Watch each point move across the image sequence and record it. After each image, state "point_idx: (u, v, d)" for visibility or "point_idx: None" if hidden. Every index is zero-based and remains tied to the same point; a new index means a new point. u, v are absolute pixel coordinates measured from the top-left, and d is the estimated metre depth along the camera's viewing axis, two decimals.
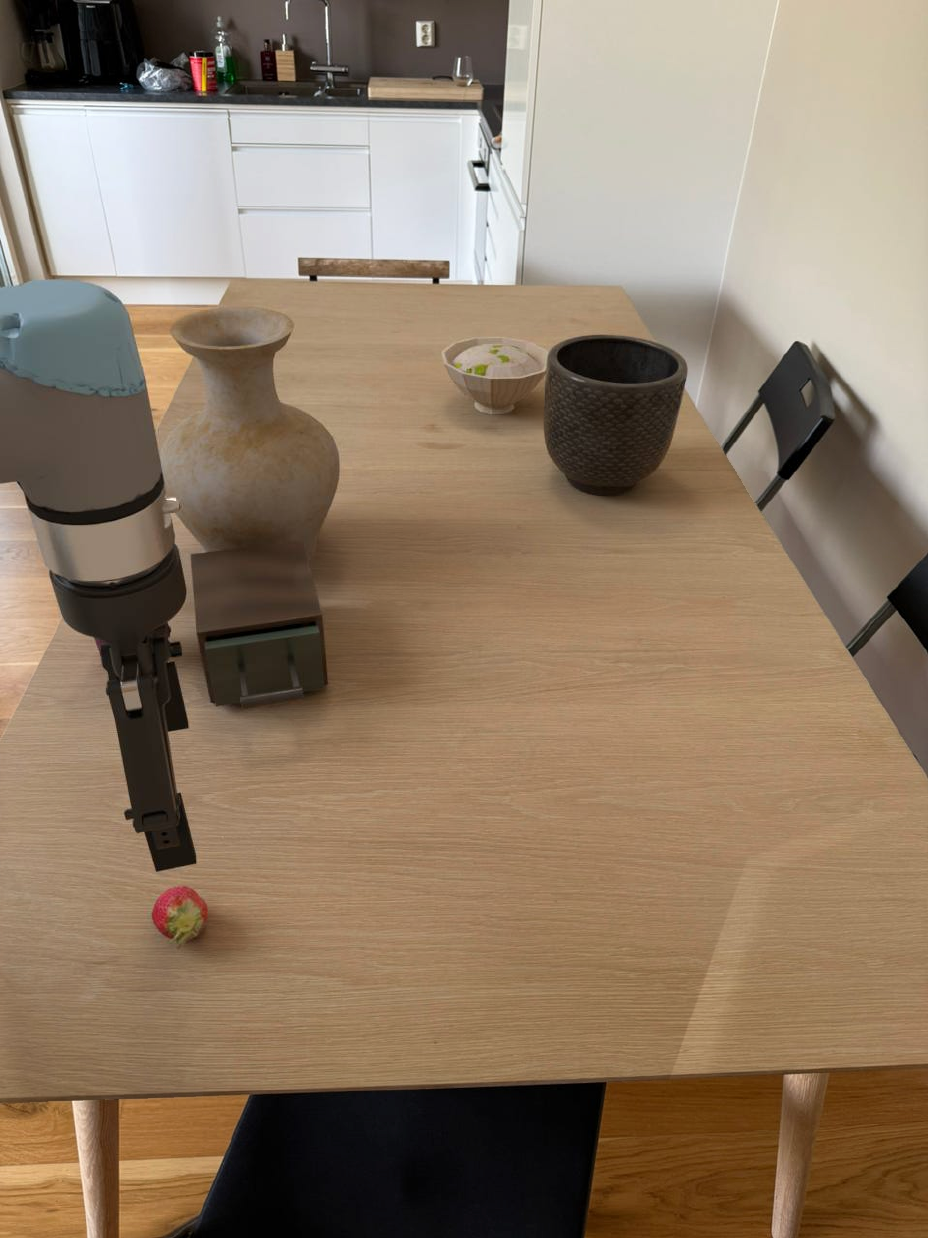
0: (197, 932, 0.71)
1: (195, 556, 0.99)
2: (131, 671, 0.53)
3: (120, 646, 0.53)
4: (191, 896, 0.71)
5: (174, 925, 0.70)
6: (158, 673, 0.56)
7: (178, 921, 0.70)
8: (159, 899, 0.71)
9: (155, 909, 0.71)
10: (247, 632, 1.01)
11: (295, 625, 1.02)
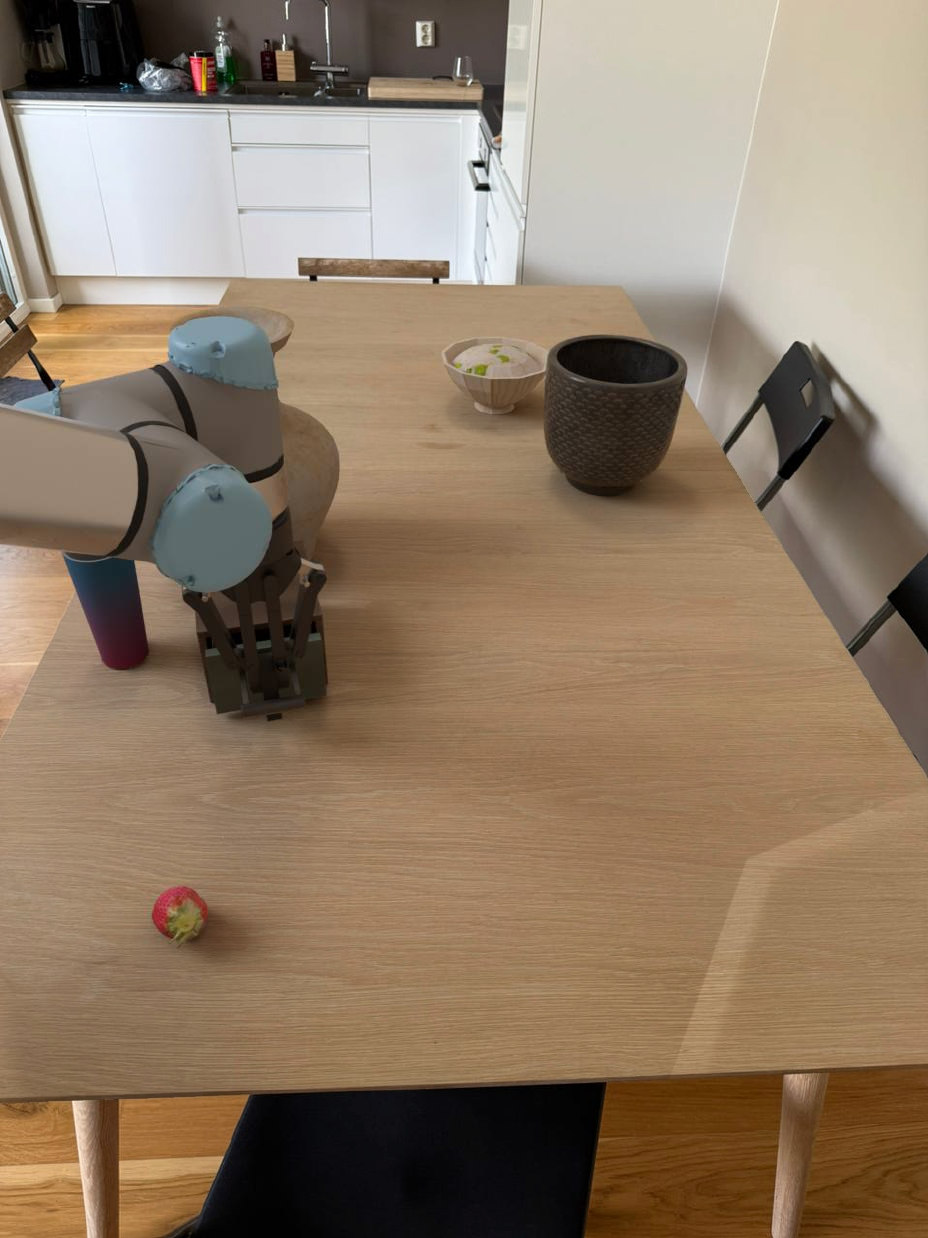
0: (197, 932, 0.71)
1: None
2: (310, 563, 0.80)
3: (294, 546, 0.78)
4: (191, 896, 0.71)
5: (173, 925, 0.70)
6: None
7: (178, 921, 0.70)
8: (159, 899, 0.71)
9: (155, 909, 0.71)
10: None
11: None
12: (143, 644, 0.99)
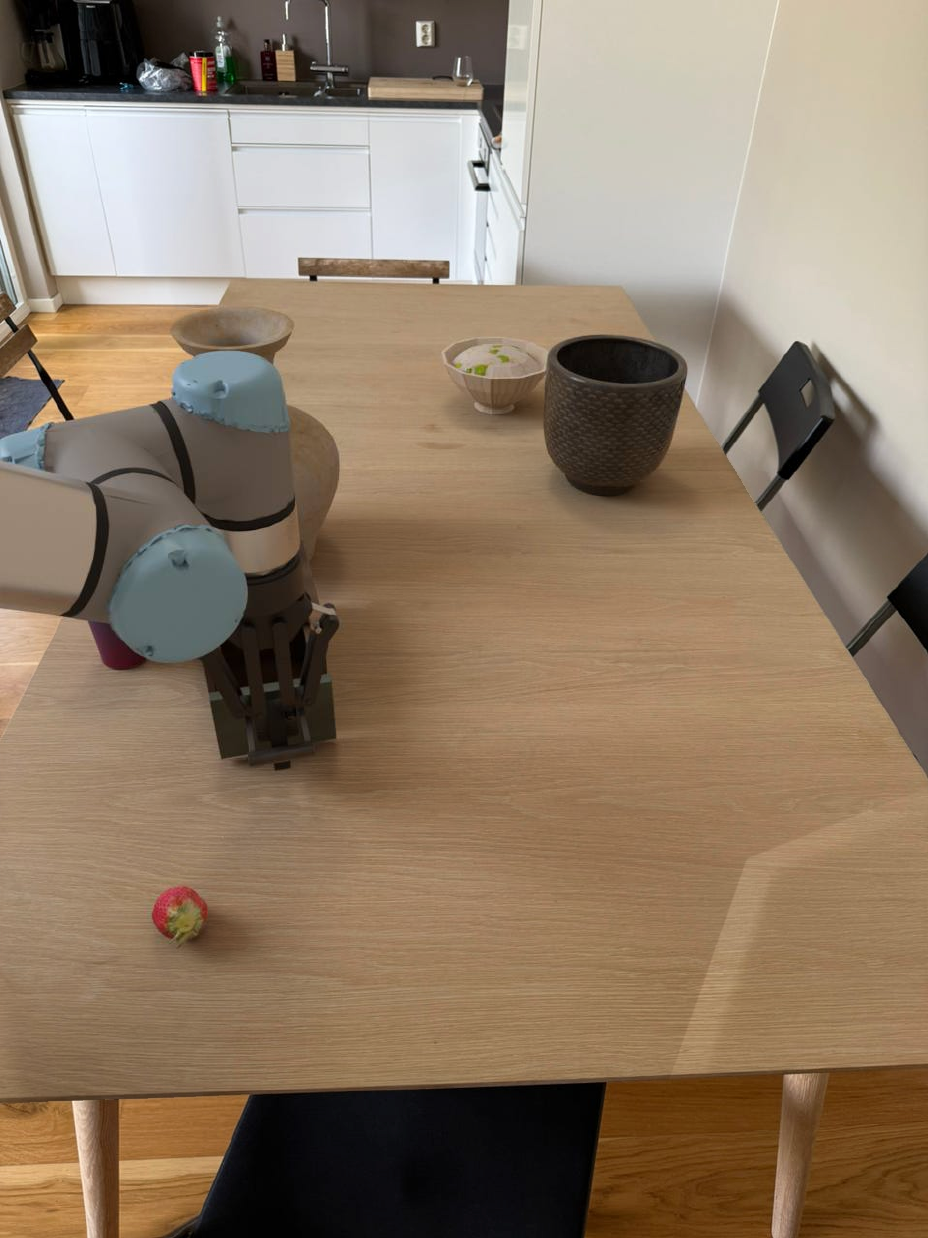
0: (197, 932, 0.71)
1: None
2: (322, 608, 0.76)
3: None
4: (191, 896, 0.71)
5: (174, 925, 0.70)
6: None
7: (178, 921, 0.70)
8: (159, 899, 0.71)
9: (155, 909, 0.71)
10: None
11: None
12: None
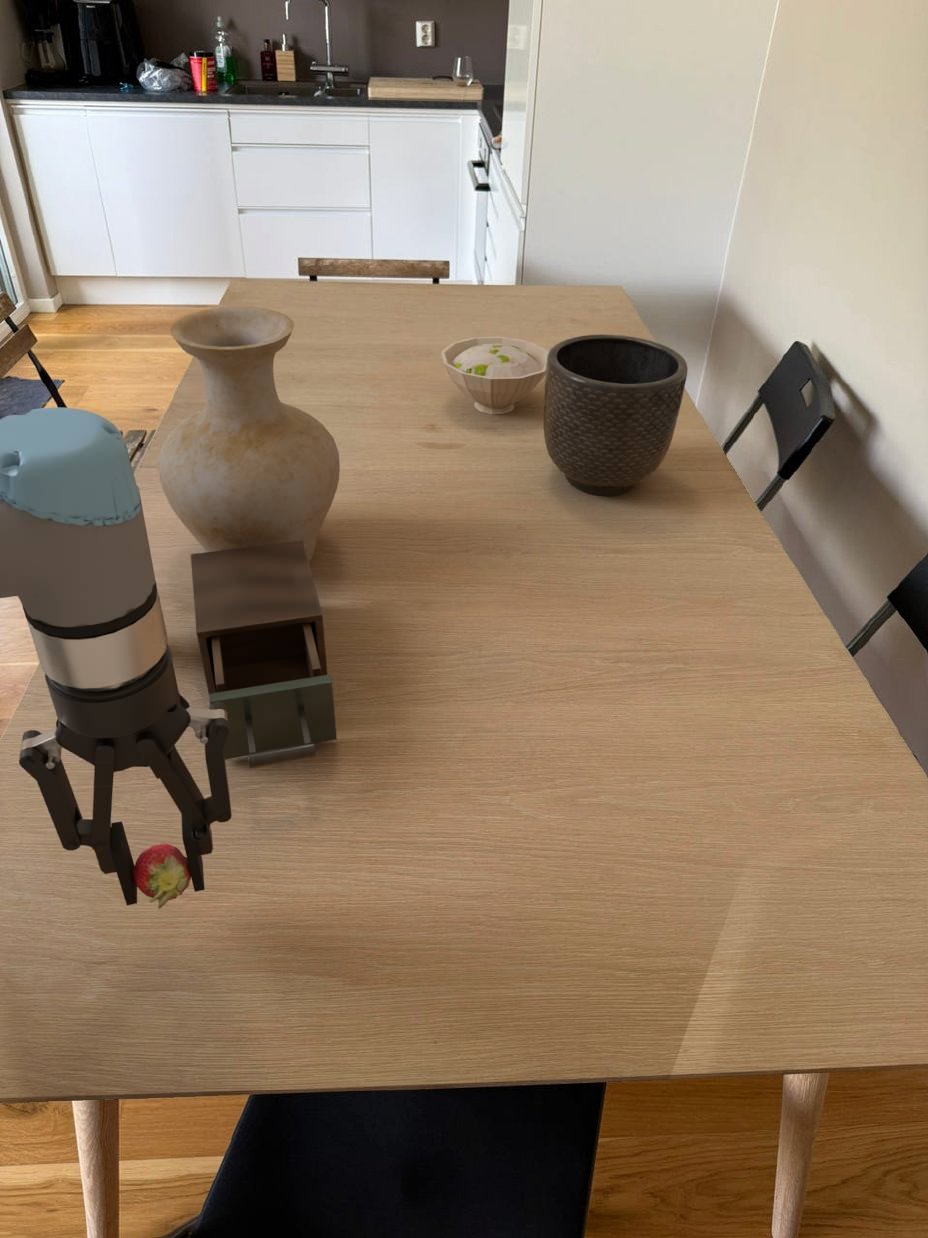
0: (180, 891, 0.68)
1: (195, 556, 0.99)
2: (205, 712, 0.61)
3: (179, 699, 0.59)
4: (174, 854, 0.68)
5: (155, 883, 0.66)
6: None
7: (160, 879, 0.66)
8: (140, 856, 0.68)
9: (136, 867, 0.67)
10: (254, 677, 0.95)
11: (305, 669, 0.96)
12: None
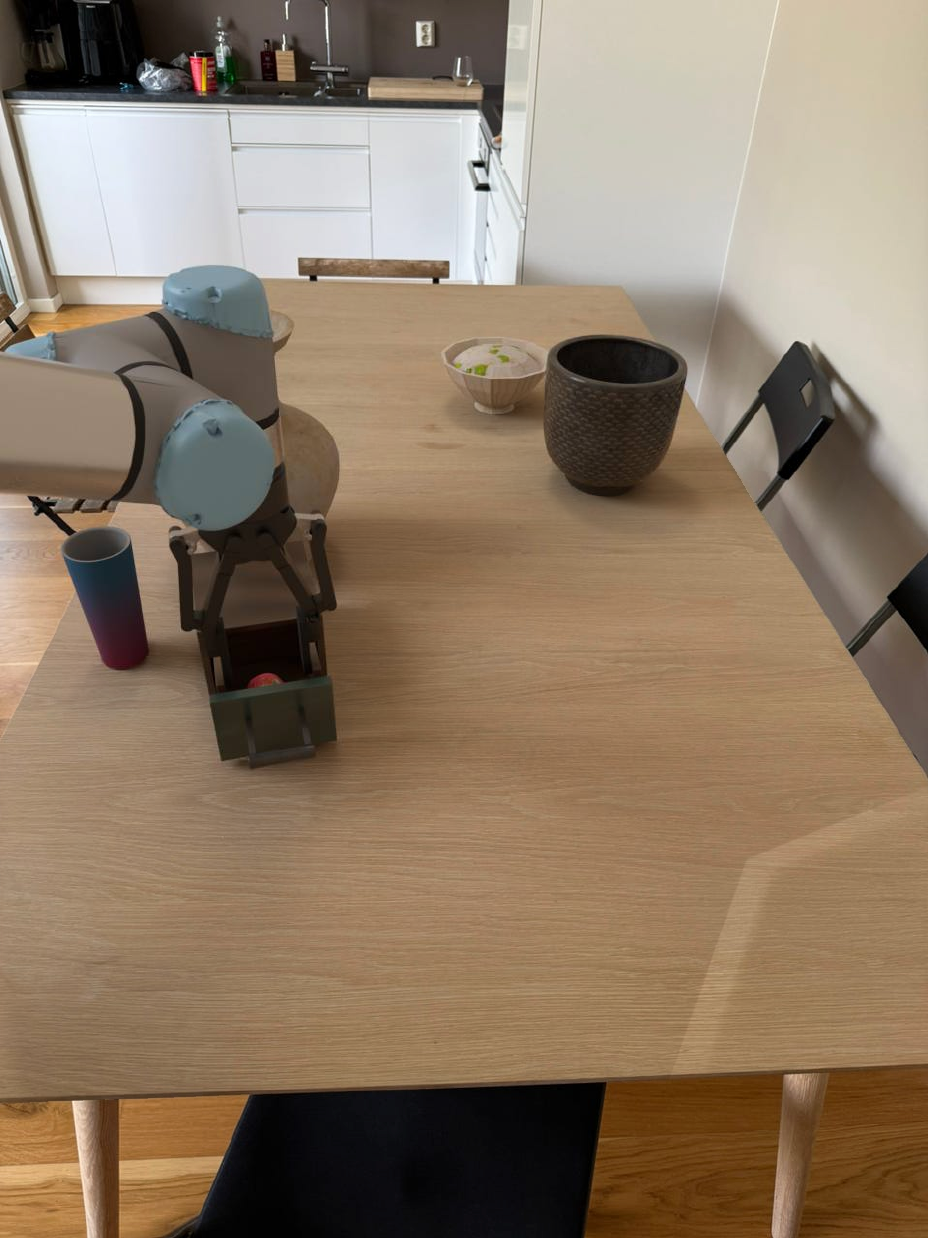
0: None
1: (195, 556, 0.99)
2: (307, 515, 0.79)
3: (289, 504, 0.78)
4: (277, 678, 0.89)
5: None
6: None
7: None
8: (251, 682, 0.89)
9: None
10: None
11: None
12: (143, 644, 0.99)
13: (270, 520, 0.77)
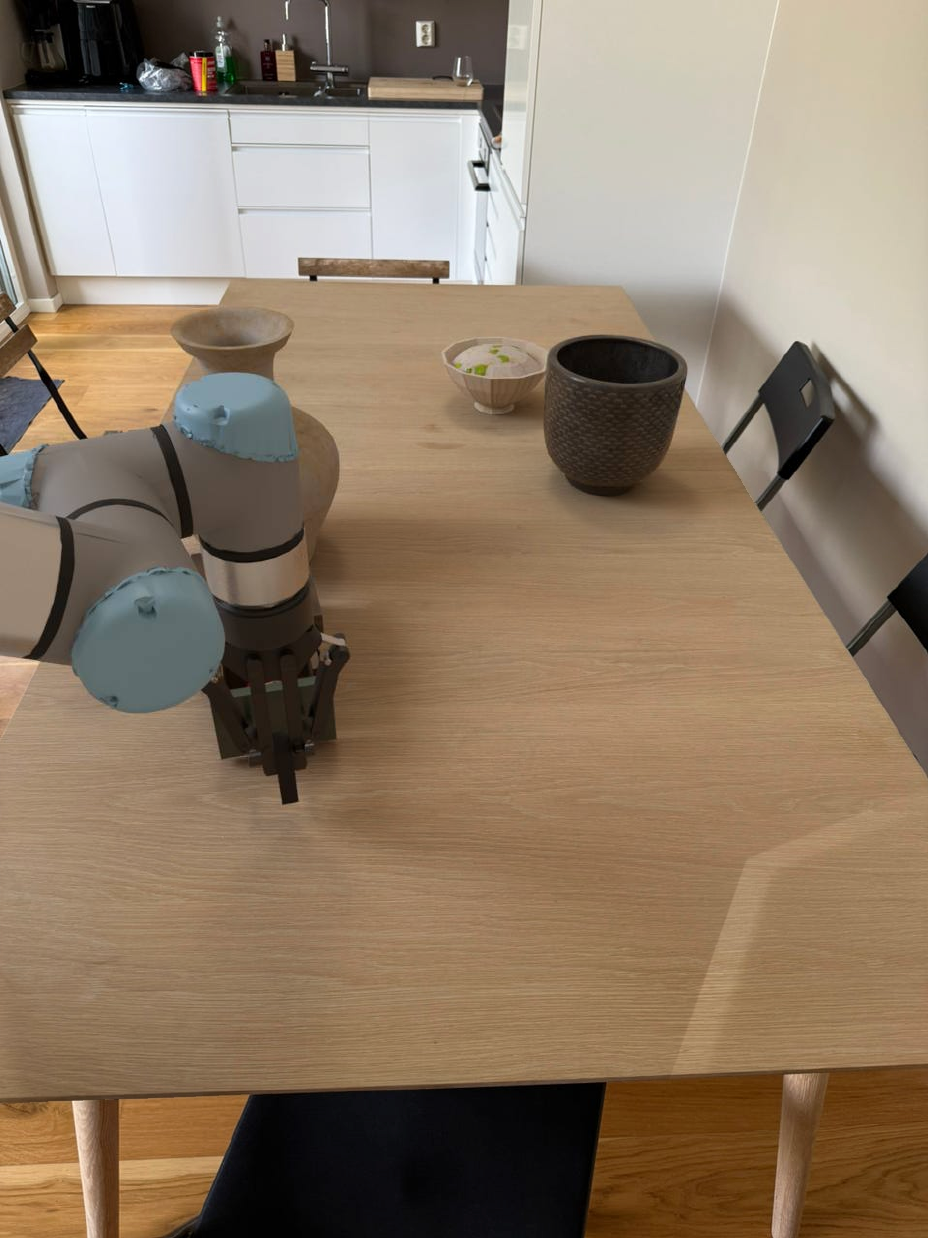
0: None
1: (195, 556, 0.99)
2: (332, 639, 0.72)
3: None
4: None
5: None
6: None
7: None
8: None
9: None
10: None
11: (304, 668, 0.96)
12: None
13: None
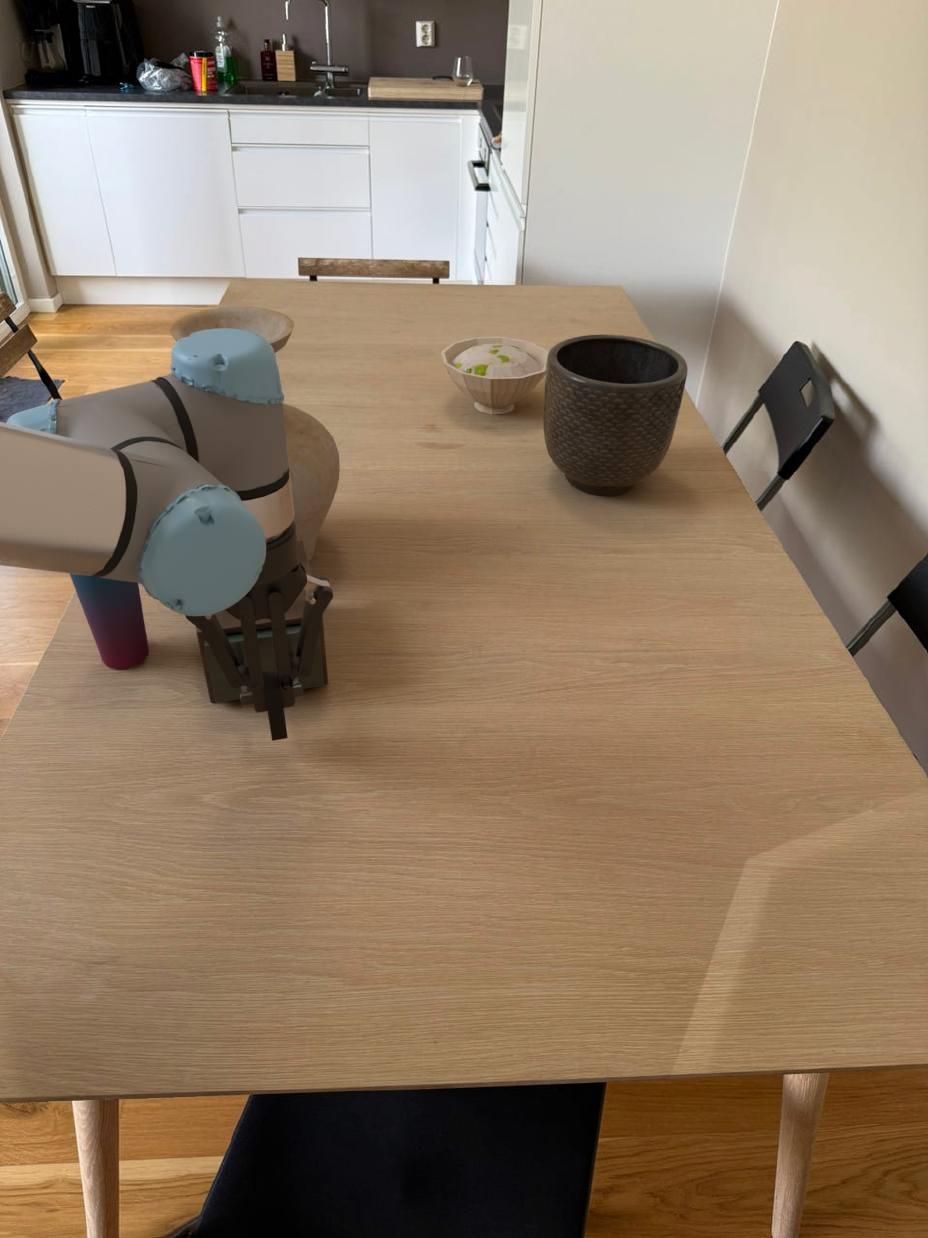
0: None
1: None
2: (316, 580, 0.79)
3: (299, 562, 0.76)
4: None
5: None
6: None
7: None
8: None
9: None
10: None
11: None
12: (143, 644, 0.99)
13: None
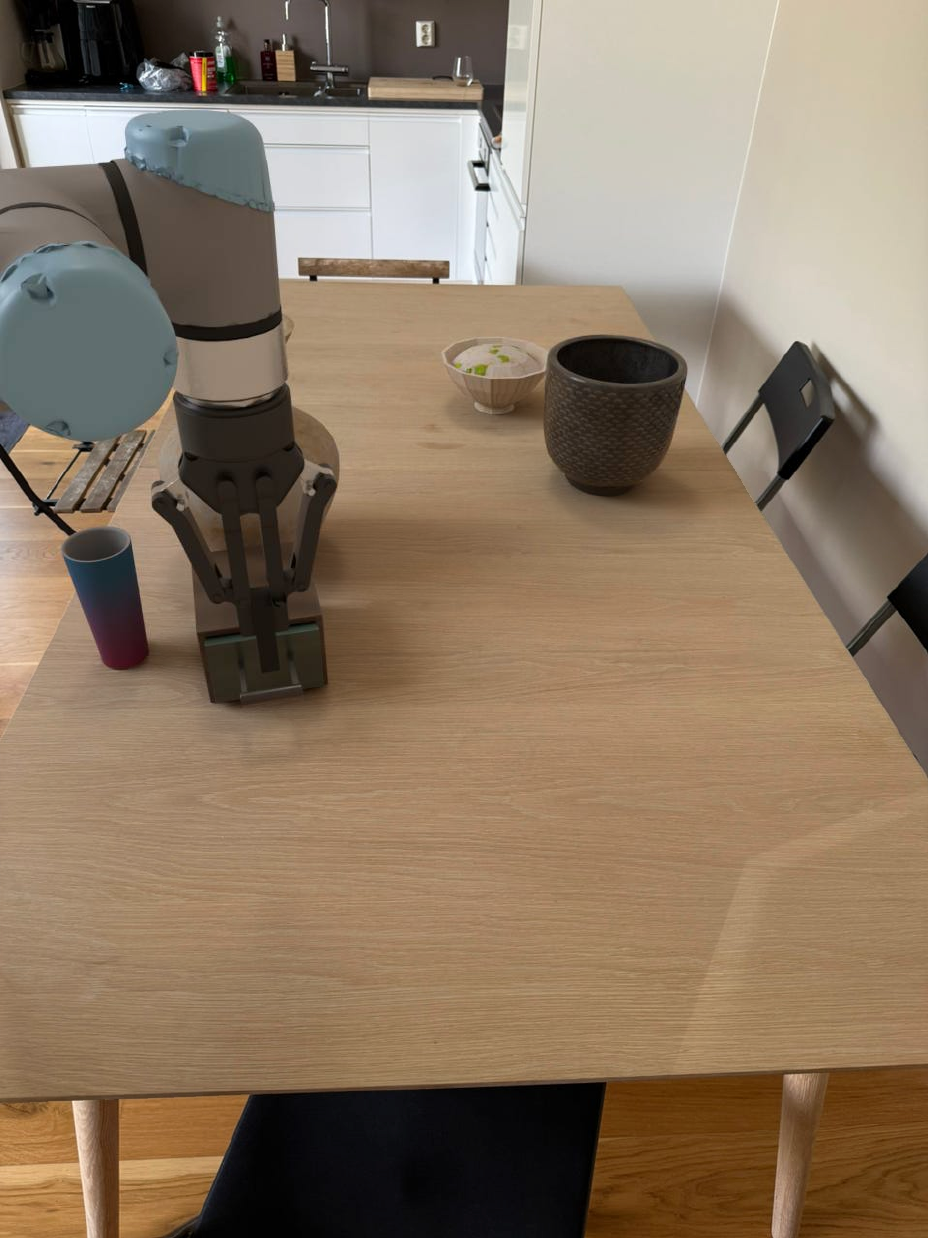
0: None
1: None
2: (316, 466, 0.63)
3: None
4: None
5: None
6: None
7: None
8: None
9: None
10: None
11: None
12: (143, 644, 0.99)
13: (274, 455, 0.60)
